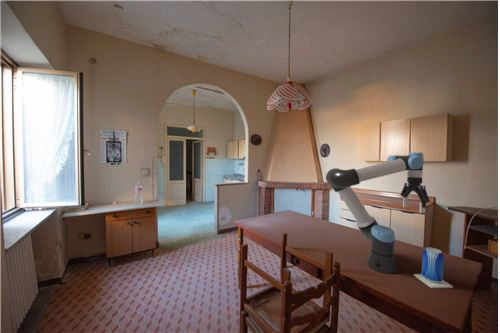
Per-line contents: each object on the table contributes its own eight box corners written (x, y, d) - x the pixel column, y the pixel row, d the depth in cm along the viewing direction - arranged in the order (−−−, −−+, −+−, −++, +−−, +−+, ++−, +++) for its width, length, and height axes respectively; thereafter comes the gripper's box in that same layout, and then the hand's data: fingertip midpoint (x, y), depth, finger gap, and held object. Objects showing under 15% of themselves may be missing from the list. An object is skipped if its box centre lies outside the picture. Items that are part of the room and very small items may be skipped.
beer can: (422, 272, 117) (424, 245, 116) (443, 279, 111) (444, 250, 110) (420, 279, 111) (421, 249, 110) (441, 286, 105) (443, 255, 104)
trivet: (431, 288, 105) (431, 286, 105) (413, 275, 116) (413, 274, 116) (452, 287, 105) (452, 286, 105) (433, 275, 116) (433, 273, 116)
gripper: (438, 179, 120) (436, 215, 121) (405, 174, 145) (404, 204, 146) (425, 179, 120) (424, 215, 121) (395, 174, 145) (393, 205, 146)
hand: (413, 209), depth 134 cm, fingers open, 13 cm apart
